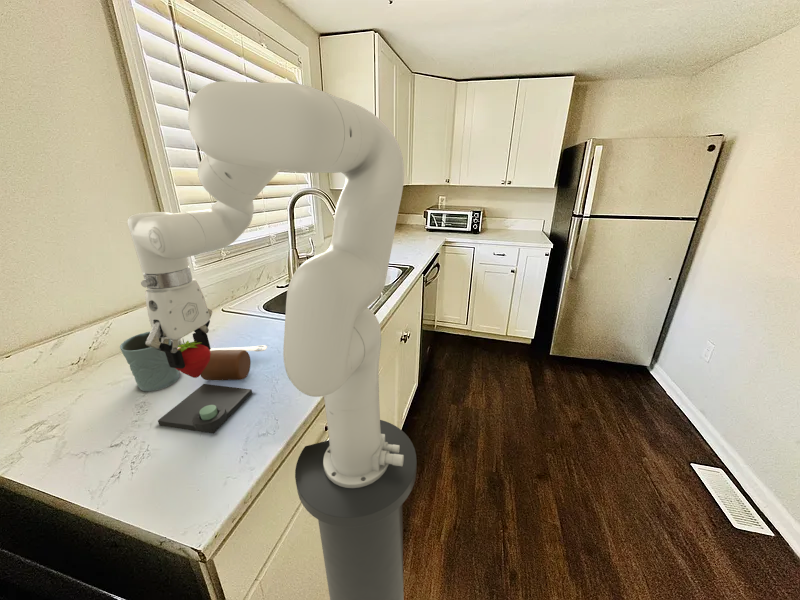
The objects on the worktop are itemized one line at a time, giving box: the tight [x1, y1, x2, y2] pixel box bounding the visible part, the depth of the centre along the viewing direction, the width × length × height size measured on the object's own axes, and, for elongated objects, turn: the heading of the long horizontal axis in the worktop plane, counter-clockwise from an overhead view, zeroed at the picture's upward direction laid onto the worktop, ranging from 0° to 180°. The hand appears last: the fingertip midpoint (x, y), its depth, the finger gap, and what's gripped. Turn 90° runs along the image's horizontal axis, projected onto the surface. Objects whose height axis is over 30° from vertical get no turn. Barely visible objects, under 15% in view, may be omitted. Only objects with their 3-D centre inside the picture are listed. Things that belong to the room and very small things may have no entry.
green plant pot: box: [119, 331, 180, 392], centre depth 80 cm, size 10×10×12 cm
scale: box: [157, 383, 253, 435], centre depth 72 cm, size 14×14×3 cm
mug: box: [200, 350, 252, 382], centre depth 85 cm, size 12×8×9 cm
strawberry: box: [176, 339, 211, 379], centre depth 69 cm, size 6×8×10 cm
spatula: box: [178, 344, 268, 352], centre depth 92 cm, size 28×6×3 cm, turn 94°
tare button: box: [199, 405, 218, 420], centre depth 66 cm, size 3×3×2 cm
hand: (191, 357), depth 69 cm, fingers closed on strawberry, 6 cm apart
